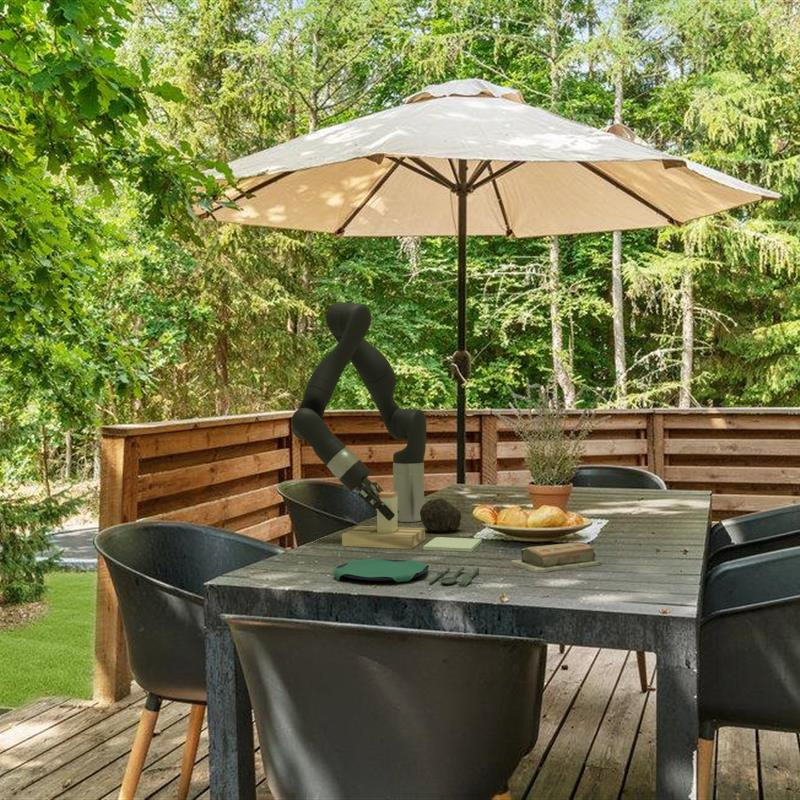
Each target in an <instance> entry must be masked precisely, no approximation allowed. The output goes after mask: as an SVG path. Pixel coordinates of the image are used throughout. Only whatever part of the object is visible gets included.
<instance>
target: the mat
mask: <svg viewBox="0 0 800 800" xmlns="http://www.w3.org/2000/svg"><path fill="white" fill-rule="evenodd" d="M481 543H482V538H468V537H467V538H464V537H441V536H439V537H438V536H435V538H432V539H431V540H430V541H429V542H427V543H426V544H425V545H423V547H422V550H424V551H445V552H446V551H447V552H448V551H450V552H470V553H471V552H472V551H474V550H475V549H476V548H477V547H478V546H479V545H480V544H481Z"/></svg>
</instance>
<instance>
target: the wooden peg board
mask: <svg viewBox="0 0 800 800" xmlns="http://www.w3.org/2000/svg"><path fill="white" fill-rule="evenodd" d="M425 540H426V528H425V527H404V526H403V527H401V526H398V531H396V532H395V533H393V534H392V533H377V525H368V526H367V525H358V526H356V527H353V528H352V529H350V530H347V531H345V532H343V533H342V534H341V546H342V547H356V548H359V547H360V548H379V549H380V548H381V549H398V550H399V549H400V550H401V549H403V550H405V549H406V550H412V549H413V548H415V547H417V546H418V545H419V544H421V543H422V542H424V541H425Z"/></svg>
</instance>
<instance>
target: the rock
mask: <svg viewBox="0 0 800 800" xmlns="http://www.w3.org/2000/svg"><path fill="white" fill-rule="evenodd" d="M420 516H421V520H422V521H421V522H422V525H423V527H424V528H425V530H427V531H429V532H435V533H444V532H449V533H450V532H453V531H455V530H457V529H459V528H460V526H461V519H462V513H461V512H460V510H459V509H458V508H456V507H455V506H454V505H453V504H451V503H450V502H449V501H447V500H445V499H444V498H443V497H439V498H436V499H435V498H434V499H430V500H428V501H427V502H424V505H423V506H422V508H421V510H420Z"/></svg>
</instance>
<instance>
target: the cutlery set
mask: <svg viewBox="0 0 800 800" xmlns="http://www.w3.org/2000/svg"><path fill="white" fill-rule="evenodd" d="M429 567H430V566H429V565H428V564H426V563H424V562H421V561H419V560H402V559H380V558H364V559H354V560H351V561H349V562H346V563H345V562H344V563H343V564H340V565H337V567H335V568H334V569H333V571H332V572H333V576H334V578H335V579H336V580H338V581H340V577H341V576H342V577H344V578H347V579H348V578H349V579H352V580H353V579H354V580H361V581H377V582H381V581H382V582H383V581H384V582H385V581H395V582H396V583H400V582H401V583H402V582H409V581H411V580H413V578H417V577H419V576H420V577H421V576H422V575H424V574H427V572H428V570H429ZM448 571H451V568H450V567H446V568H445V570H443V571H439V572H437V573H436V574H437V575H434V576H433V577H432V578H431V579H429V581H428V583H429V584H430V585H431V584H433V583H434V582H435V581H437V580H438V579H440V581H439V582H440V583H442V584H444V585H453V584H455V583H457V580H458V578H457V576H458V575H459V574H460V573H461V572H464V571H465V567H464V566H460V567H459V568H458V569H457V570H456V571H455V572H454V574H453V575H452V576H448V577H447V576H445V577H443V576H444V574H445V573H446V572H448ZM478 573H480V567H475V568H474V569H473V570H472V571H471V573H470V574H469V575H468V574H467V575H465V576H462V577H461V580H460V581H459V583H458V584H457V585H458V586H467V585H468V584H470V583H472V580H473V579H474V577H475V576H476V575H477V574H478ZM472 578H473V579H472Z"/></svg>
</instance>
